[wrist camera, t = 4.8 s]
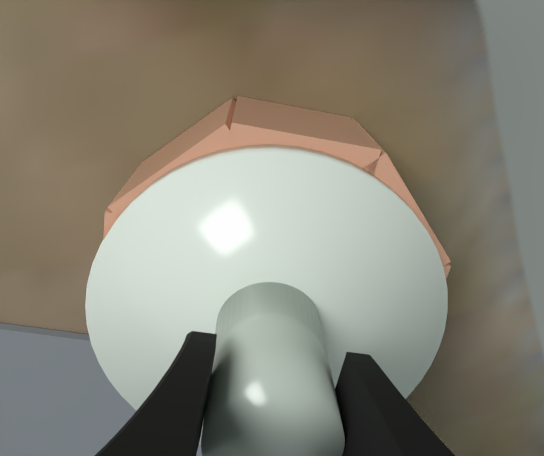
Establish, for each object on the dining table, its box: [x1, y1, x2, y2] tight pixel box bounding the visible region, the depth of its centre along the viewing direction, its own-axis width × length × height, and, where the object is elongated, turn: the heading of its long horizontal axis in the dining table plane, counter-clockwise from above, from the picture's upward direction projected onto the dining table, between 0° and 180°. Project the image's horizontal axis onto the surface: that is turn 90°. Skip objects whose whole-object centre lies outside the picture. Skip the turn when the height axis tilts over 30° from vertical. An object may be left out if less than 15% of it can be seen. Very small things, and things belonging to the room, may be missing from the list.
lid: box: [85, 144, 448, 456], centre depth 13 cm, size 11×11×5 cm
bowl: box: [104, 96, 451, 279], centre depth 17 cm, size 11×11×4 cm
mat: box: [0, 323, 202, 456], centre depth 23 cm, size 12×12×1 cm
